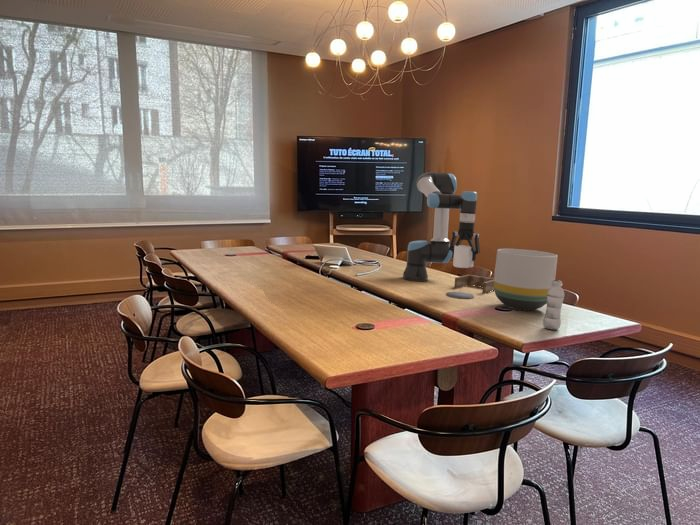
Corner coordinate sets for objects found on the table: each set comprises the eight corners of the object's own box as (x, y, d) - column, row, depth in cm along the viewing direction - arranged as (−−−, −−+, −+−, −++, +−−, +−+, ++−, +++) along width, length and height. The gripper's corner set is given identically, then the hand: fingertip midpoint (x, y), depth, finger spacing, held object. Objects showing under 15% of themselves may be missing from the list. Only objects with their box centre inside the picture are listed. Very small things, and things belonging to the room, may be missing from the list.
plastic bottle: (539, 326, 194) (545, 278, 191) (554, 327, 194) (560, 279, 191) (547, 331, 187) (553, 282, 184) (563, 331, 188) (569, 282, 185)
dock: (454, 288, 265) (455, 277, 264) (467, 284, 279) (468, 274, 278) (485, 293, 254) (486, 283, 253) (497, 289, 268) (498, 279, 267)
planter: (563, 316, 214) (570, 257, 210) (508, 315, 209) (514, 255, 205) (531, 302, 240) (537, 249, 236) (481, 301, 235) (487, 247, 231)
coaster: (441, 295, 244) (441, 294, 244) (453, 291, 255) (453, 290, 255) (467, 300, 236) (467, 299, 236) (478, 296, 247) (478, 295, 247)
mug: (478, 267, 242) (480, 246, 240) (461, 268, 236) (462, 247, 234) (466, 265, 249) (468, 244, 248) (449, 265, 243) (451, 245, 242)
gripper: (444, 220, 243) (440, 263, 246) (484, 223, 230) (479, 269, 234) (450, 220, 249) (447, 262, 252) (490, 223, 236) (485, 267, 240)
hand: (462, 265), depth 243 cm, fingers closed on mug, 9 cm apart
